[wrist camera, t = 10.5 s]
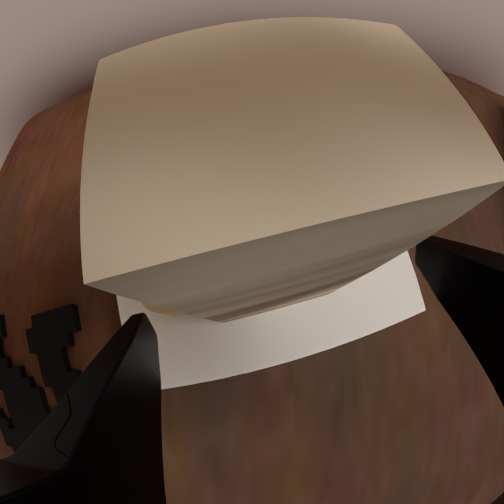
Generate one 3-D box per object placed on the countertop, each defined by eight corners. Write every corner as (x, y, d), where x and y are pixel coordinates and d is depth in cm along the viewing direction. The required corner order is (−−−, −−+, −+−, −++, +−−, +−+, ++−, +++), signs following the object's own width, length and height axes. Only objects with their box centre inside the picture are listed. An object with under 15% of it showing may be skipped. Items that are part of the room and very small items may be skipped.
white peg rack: (410, 312, 17) (448, 305, 12) (149, 386, 16) (119, 401, 11) (363, 182, 19) (386, 148, 15) (121, 242, 18) (90, 218, 14)
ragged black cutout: (-17, 323, 17) (90, 568, 9) (-23, 322, 16) (87, 572, 8) (96, 287, 18) (225, 585, 10) (89, 284, 17) (224, 590, 9)
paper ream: (328, 294, 15) (512, 179, 3) (223, 322, 15) (82, 283, 2) (306, 225, 16) (391, 20, 4) (206, 250, 16) (100, 55, 4)
